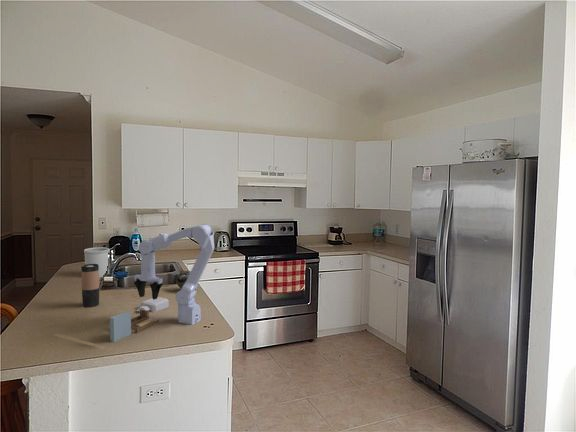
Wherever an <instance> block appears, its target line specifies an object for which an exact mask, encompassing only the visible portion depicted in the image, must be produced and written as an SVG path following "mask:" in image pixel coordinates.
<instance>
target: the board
mask: <svg viewBox="0 0 576 432" xmlns="http://www.w3.org/2000/svg"><path fill="white" fill-rule="evenodd" d="M131 313H132V312H131V311H127V310H126V311H124V312H122V313H118V314H117V315H113V316H110V317H109V337H110V338H109V341H110V342H112V343H113V342H114V343H115V342H118V341H120V340H121V339H124V338H126V337H128V336H131V335H132V333H131V319H132V314H131Z"/></svg>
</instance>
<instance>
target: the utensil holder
mask: <svg viewBox="0 0 576 432" xmlns="http://www.w3.org/2000/svg"><path fill="white" fill-rule="evenodd" d="M108 252H109V253H110V248H109V247H106V246H104V247H99V246H98V247H90V248H89V247H88V248H85V249H84V250H83V253H84V254H83V255H84V265H86V264H98V265H99V278H104V277H103V275H104V274H105V273H106V271H107V266H108Z"/></svg>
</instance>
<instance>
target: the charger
mask: <svg viewBox="0 0 576 432" xmlns="http://www.w3.org/2000/svg"><path fill="white" fill-rule="evenodd" d="M168 308H170V300H169V299H168V298H165V297H160V296H158V297H157V299H155V300H153V298H152V297H150V298H148V299H146V300H143V301H141V302H140V306H139V307H137V308H136V310H135V311H136V312H138V313H140V310H141V309H142V310H147V311H149V312H157V311H160V310H161V311H163V310H166V309H168Z"/></svg>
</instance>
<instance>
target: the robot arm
mask: <svg viewBox="0 0 576 432" xmlns="http://www.w3.org/2000/svg"><path fill="white" fill-rule="evenodd" d="M214 235H215V231H214V230H213V228H212V226H211V225H209V224H207V223H203V224H200V225H194V226H190V227H187V228H184V229H181V230H179V231H176V232H174V233H171V234H168V233H163V232H162V233H159V234H158V236H157V235H156V236H155V237H149V238H148V239H147V240H142V241H141V242H140V243H139V244H138V247H137V248H138V251H139V252H140V274H135V275H134V278H133V279H134V281H133V284H134V285H135V288H136V289H137V292H138V295H139V298H143V297H145V293H146V283H147V282H148V283H150V284H149V288H151V289H150V290H151V296H152V297H151V298H153V300H155V299H157V297H159V293H160V290H161V288H162V286H163V283H164V282H163V278H161V277H158V276H156V251H160V250H162V249H165V248H168V247H170V246H171V244H172V242H175V241H178V240H181V239H184V238H190V239H194V240H195V241H196V243H197V244H198V245H199V247H200V251H199V253H198V256H197V257H196V260H195V262H194V264H193V266H192V268H191V270H190V271H191V272H190V271H189V272H190V274H189V276H188V279H187V281H186V282H185V284H184V285H183V287H182V289H181V288H180V290H178V292H176V294H175V301H176V302H177V322H178V323H180V324H187V325H191V326H192V325H195V324H196V323H198V322H199V323H200V321H202V315H201V314H202V309H201V308H202V307H201V305H200V304H198V303H196V300H195V297H196V295H197V290H198V289H197V288H198V287H199V282H200V280H201V278H202V276H203V273H204V271H205V269H206V267H207V265H208V262H209V261H210V258H211V257H212V254H213V253H214V251H215V239H214Z"/></svg>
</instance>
